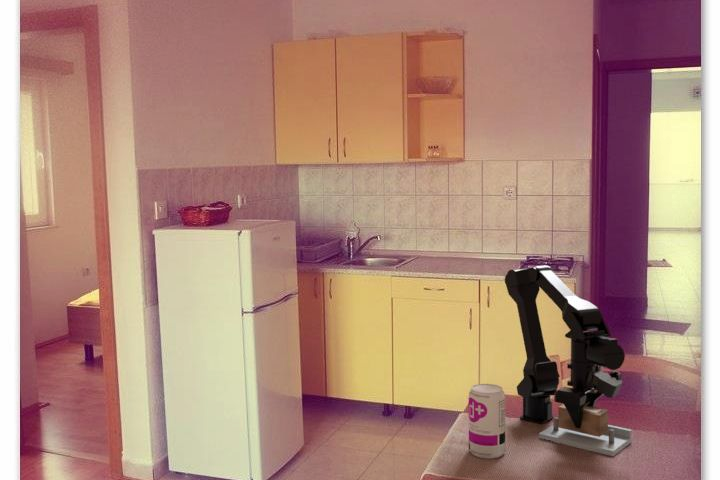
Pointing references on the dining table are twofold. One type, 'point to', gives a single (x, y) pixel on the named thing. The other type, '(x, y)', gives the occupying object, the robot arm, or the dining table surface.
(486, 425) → the supplement can
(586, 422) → the brown wooden block
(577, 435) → the ledge
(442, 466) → the dining table surface
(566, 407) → the robot arm
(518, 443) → the dining table surface
